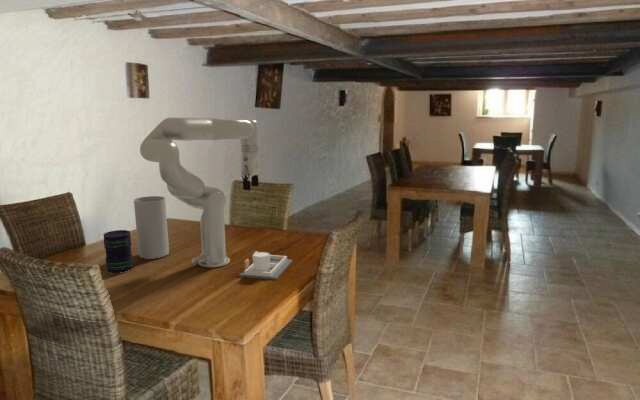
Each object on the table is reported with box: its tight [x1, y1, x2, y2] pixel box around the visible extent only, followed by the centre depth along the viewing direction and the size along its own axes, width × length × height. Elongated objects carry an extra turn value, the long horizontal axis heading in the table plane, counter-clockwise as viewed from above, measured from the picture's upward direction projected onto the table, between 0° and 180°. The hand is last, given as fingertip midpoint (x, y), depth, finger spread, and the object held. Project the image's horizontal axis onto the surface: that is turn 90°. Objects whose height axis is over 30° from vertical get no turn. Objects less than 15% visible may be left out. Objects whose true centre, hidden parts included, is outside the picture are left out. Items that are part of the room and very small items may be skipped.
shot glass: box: [251, 251, 271, 272], centre depth 179 cm, size 7×7×7 cm
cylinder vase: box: [133, 195, 170, 260], centre depth 200 cm, size 12×12×25 cm
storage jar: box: [103, 229, 134, 274], centre depth 184 cm, size 10×10×15 cm
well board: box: [238, 250, 293, 281], centre depth 185 cm, size 21×15×5 cm
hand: (251, 187), depth 204 cm, fingers open, 9 cm apart
